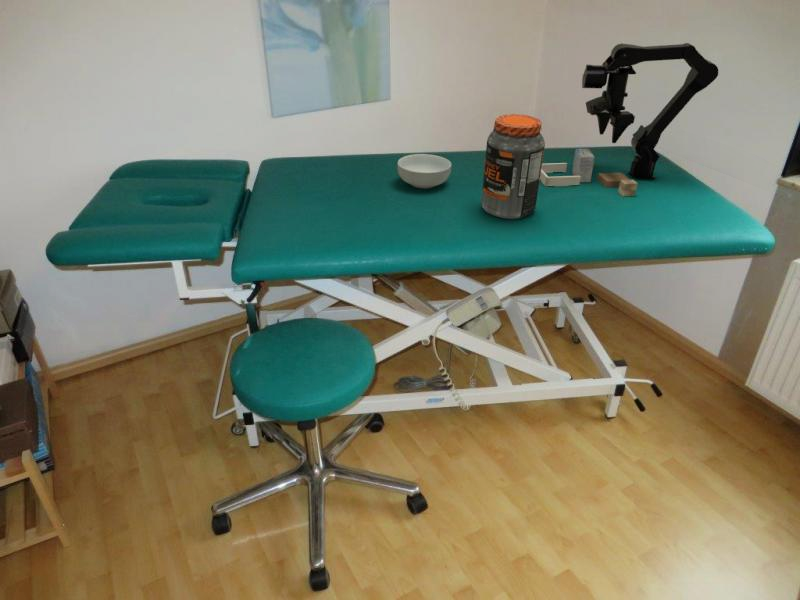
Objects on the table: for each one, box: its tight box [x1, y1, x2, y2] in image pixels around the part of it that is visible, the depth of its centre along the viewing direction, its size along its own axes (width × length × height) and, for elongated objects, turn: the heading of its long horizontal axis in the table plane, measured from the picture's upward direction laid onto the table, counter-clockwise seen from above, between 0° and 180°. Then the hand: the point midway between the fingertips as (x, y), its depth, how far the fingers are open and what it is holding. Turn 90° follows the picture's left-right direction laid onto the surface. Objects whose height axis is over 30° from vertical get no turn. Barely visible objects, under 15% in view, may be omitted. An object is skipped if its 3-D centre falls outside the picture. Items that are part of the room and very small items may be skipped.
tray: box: [540, 162, 581, 188], centre depth 195 cm, size 11×13×3 cm
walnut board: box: [596, 172, 631, 188], centre depth 193 cm, size 8×7×2 cm
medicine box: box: [571, 148, 595, 183], centre depth 194 cm, size 8×4×9 cm, turn 179°
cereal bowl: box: [396, 153, 452, 189], centre depth 189 cm, size 17×17×7 cm
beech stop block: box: [617, 179, 638, 197], centre depth 185 cm, size 4×3×4 cm
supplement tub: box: [481, 113, 546, 220], centre depth 168 cm, size 16×16×26 cm
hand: (607, 138), depth 194 cm, fingers open, 9 cm apart
